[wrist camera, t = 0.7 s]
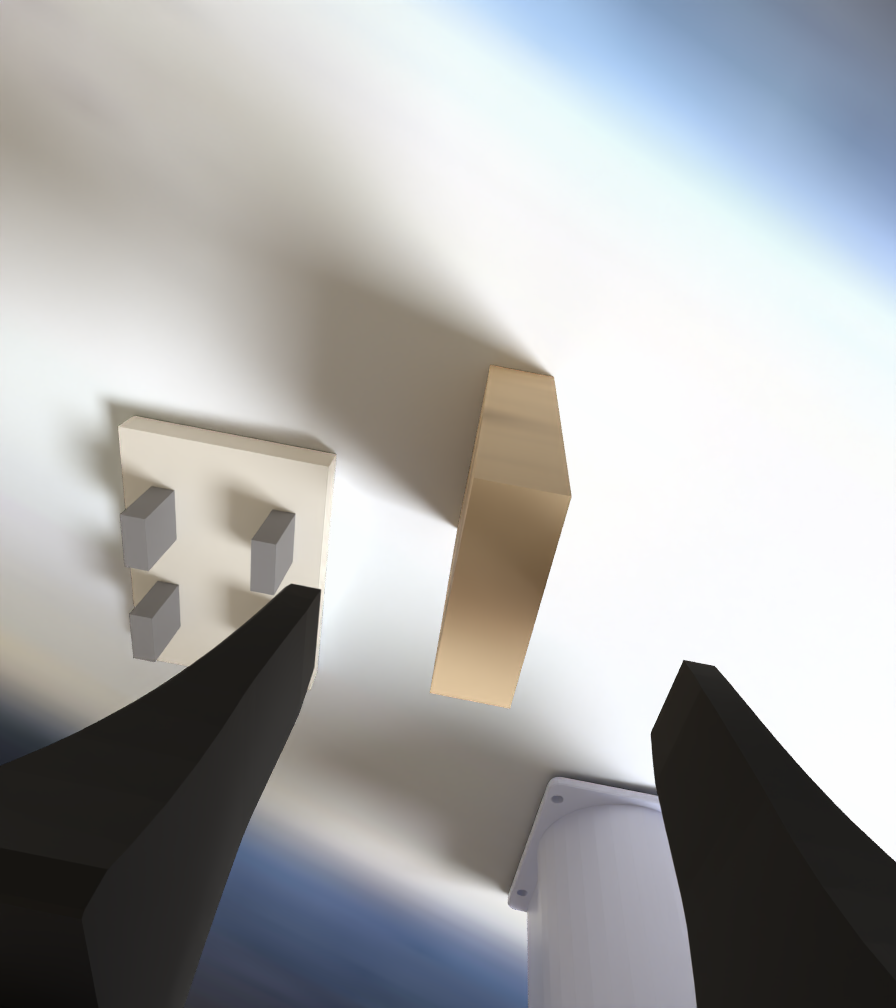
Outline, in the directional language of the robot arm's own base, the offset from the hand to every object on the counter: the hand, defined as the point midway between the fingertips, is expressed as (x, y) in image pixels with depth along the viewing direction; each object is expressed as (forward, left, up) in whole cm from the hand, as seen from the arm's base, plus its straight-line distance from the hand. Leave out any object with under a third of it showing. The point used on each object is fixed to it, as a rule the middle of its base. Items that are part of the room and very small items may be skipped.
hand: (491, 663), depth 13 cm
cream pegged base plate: (-6, +9, -10) cm, 15 cm away
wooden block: (0, 0, -10) cm, 10 cm away
